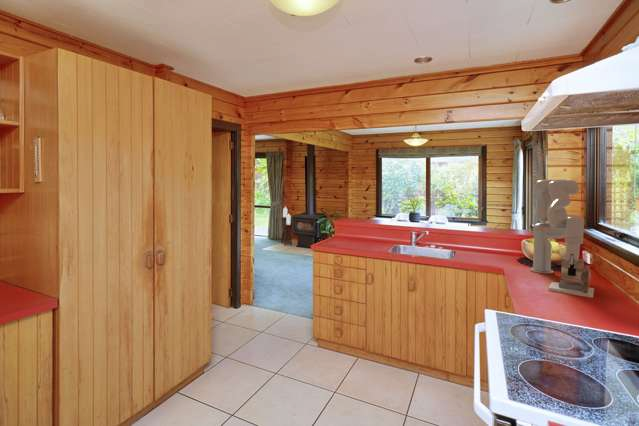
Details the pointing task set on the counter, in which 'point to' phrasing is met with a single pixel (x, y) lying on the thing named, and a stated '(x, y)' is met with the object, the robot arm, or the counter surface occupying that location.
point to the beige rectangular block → (578, 267)
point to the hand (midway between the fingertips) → (571, 274)
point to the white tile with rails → (570, 288)
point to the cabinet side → (585, 279)
